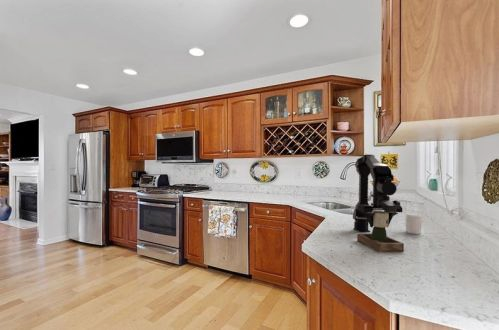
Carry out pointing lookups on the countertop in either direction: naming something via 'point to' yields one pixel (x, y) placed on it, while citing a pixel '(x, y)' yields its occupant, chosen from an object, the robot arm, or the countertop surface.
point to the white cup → (413, 223)
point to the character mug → (380, 225)
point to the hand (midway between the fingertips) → (379, 227)
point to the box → (381, 243)
